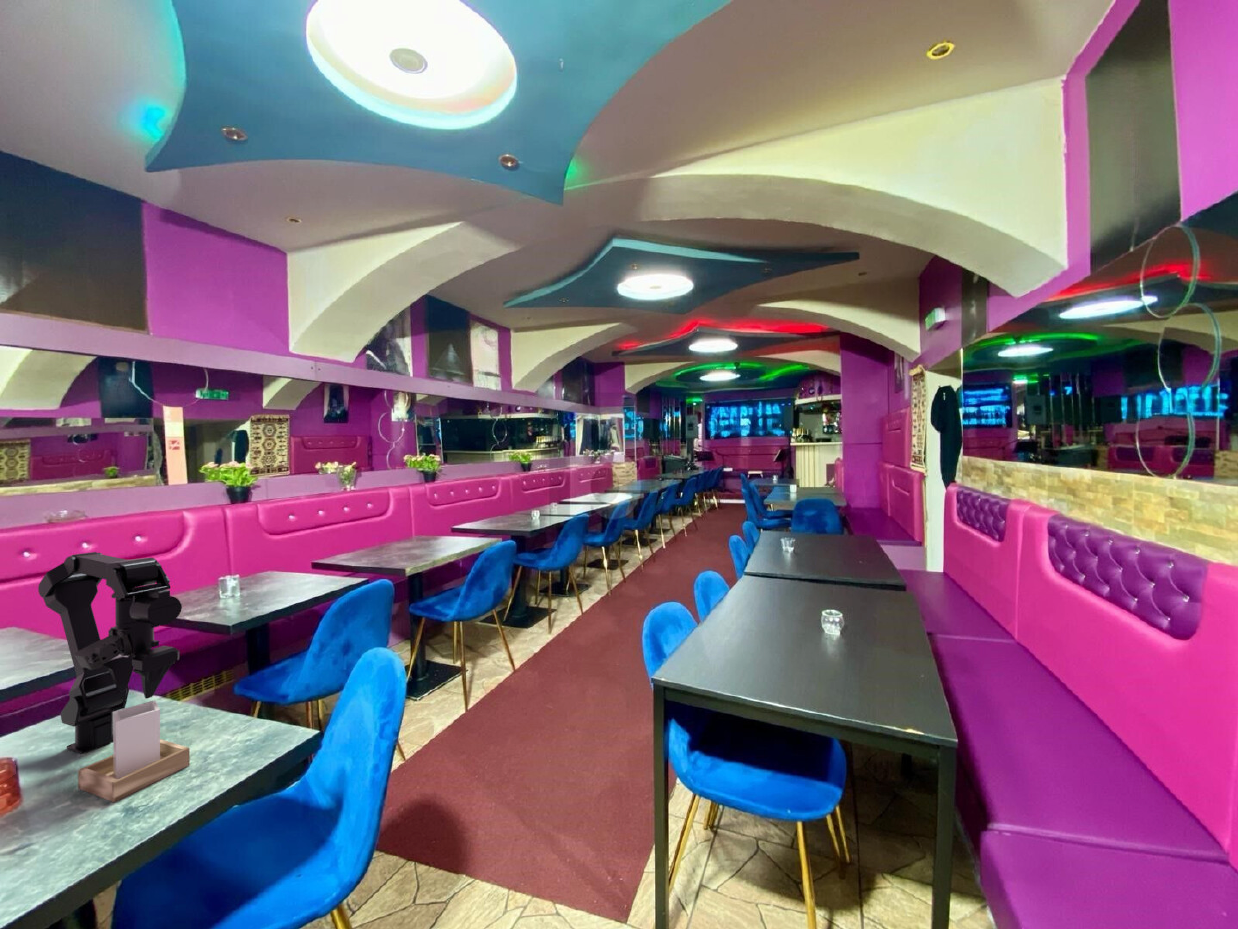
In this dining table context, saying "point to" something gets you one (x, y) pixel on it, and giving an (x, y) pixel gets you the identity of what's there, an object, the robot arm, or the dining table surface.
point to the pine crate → (106, 786)
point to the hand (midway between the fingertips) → (135, 694)
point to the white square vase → (135, 738)
